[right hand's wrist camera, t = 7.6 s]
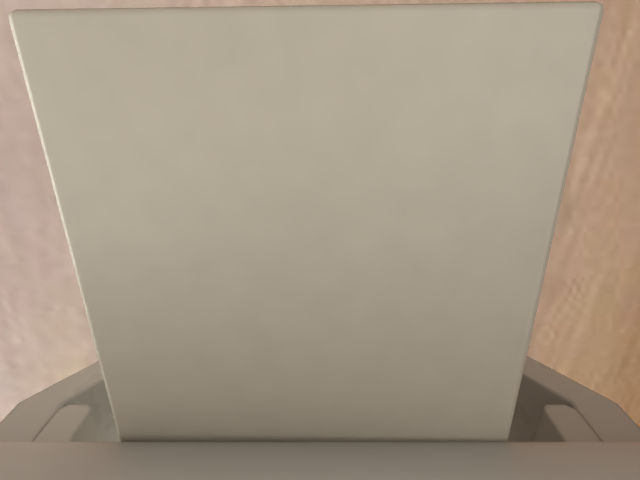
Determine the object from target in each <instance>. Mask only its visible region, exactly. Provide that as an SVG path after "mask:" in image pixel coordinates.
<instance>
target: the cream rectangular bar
mask: <svg viewBox="0 0 640 480" xmlns="http://www.w3.org/2000/svg"><path fill="white" fill-rule="evenodd" d="M603 11H604V9H603V4H600V3H598V2H596V1H590V2H520V3H450V4H379V5H309V6H239V7H169V8H99V9H28V10H15V11H12V12H10V13H9V21H10V25H11V29H12V33H13V37H14V40H15V44H16V48H17V52H18V56H19V59H20V63H21V67H22V71H23V75H24V78H25V82H26V86H27V90H28V94H29V97H30V101H31V105H32V109H33V113H34V116H35V120H36V124H37V128H38V132H39V135H40V139H41V143H42V147H43V151H44V154H45V158H46V162H47V166H48V170H49V173H50V177H51V181H52V185H53V189H54V192H55V196H56V200H57V204H58V208H59V211H60V215H61V219H62V223H63V227H64V230H65V234H66V238H67V242H68V246H69V249H70V253H71V257H72V261H73V265H74V268H75V272H76V276H77V280H78V284H79V287H80V291H81V295H82V299H83V303H84V306H85V310H86V314H87V318H88V322H89V325H90V329H91V333H92V337H93V341H94V344H95V348H96V352H97V356H98V360H99V363H100V367H101V371H102V375H103V379H104V382H105V386H106V390H107V394H108V398H109V401H110V405H111V409H112V413H113V417H114V420H115V424H116V428H117V432H118V436H119V439H120V442H507V441H508V437H509V432H510V428H511V423H512V419H513V414H514V410H515V405H516V401H517V397H518V392H519V388H520V383H521V379H522V374H523V370H524V365H525V361H526V356H527V352H528V347H529V343H530V338H531V334H532V329H533V325H534V320H535V316H536V311H537V307H538V302H539V298H540V293H541V289H542V284H543V280H544V275H545V271H546V266H547V262H548V257H549V253H550V248H551V244H552V239H553V235H554V230H555V226H556V221H557V217H558V213H559V208H560V204H561V199H562V195H563V190H564V186H565V181H566V177H567V172H568V168H569V163H570V159H571V154H572V150H573V145H574V141H575V136H576V132H577V127H578V123H579V118H580V114H581V109H582V105H583V100H584V96H585V91H586V87H587V82H588V78H589V73H590V69H591V64H592V60H593V55H594V51H595V46H596V42H597V37H598V33H599V28H600V24H601V20H602V15H603Z"/></svg>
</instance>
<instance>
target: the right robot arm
mask: <svg viewBox="0 0 640 480" xmlns="http://www.w3.org/2000/svg"><path fill="white" fill-rule="evenodd" d="M0 480H640V428H639V427H638V426H637V425H636V424H635V422H634V421H633V420H632V419H631V418H630V417H629V416H628V415H627V414H626V413H625V412H624V411H623V410H622V409H621V408H620V406H619V405H618V404H617V403H615V402H613V401H611V400H609V399H607V398H605V397H603V396H602V395H600V394H598V393H596V392H594V391H592V390H590V389H588V388H587V387H585V386H583V385H581V384H579V383H577V382H575V381H573V380H571V379H570V378H568V377H566V376H564V375H562V374H560V373H558V372H556V371H555V370H553V369H551V368H549V367H547V366H545V365H543V364H541V363H539V362H538V361H536V360H534V359H532V358H530V357H528V356H526V361H525V365H524V370H523V374H522V379H521V383H520V388H519V392H518V397H517V401H516V405H515V410H514V414H513V419H512V423H511V428H510V432H509V437H508V441H507V442H120V439H119V436H118V432H117V428H116V424H115V420H114V417H113V413H112V409H111V405H110V401H109V398H108V394H107V390H106V386H105V382H104V379H103V375H102V371H101V367H100V363H99V361H98V362H96V363H94V364H92V365H91V366H89V367H87V368H85V369H83V370H81V371H79V372H77V373H75V374H73V375H71V376H70V377H68V378H66V379H64V380H62V381H60V382H58V383H56V384H54V385H52V386H50V387H49V388H47V389H45V390H43V391H41V392H39V393H37V394H35V395H33V396H31V397H29V398H28V399H26V400H24V401H22V402H20V403H19V404H18V405H17V406H16V407H15V408H14V409H13V410H12V411H11V412H10V413H9V414H8V415H7V416H6V417H5V418H4V419H3V420H2V421H1V422H0Z"/></svg>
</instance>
